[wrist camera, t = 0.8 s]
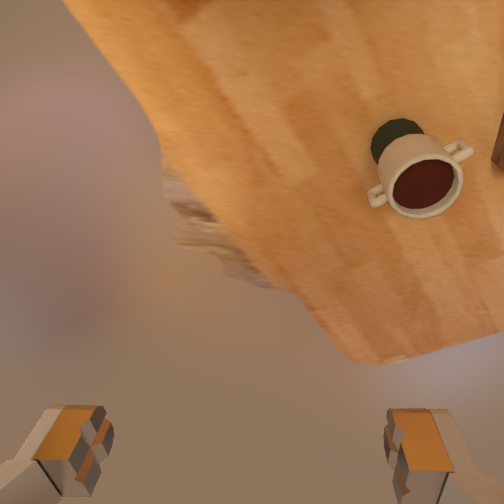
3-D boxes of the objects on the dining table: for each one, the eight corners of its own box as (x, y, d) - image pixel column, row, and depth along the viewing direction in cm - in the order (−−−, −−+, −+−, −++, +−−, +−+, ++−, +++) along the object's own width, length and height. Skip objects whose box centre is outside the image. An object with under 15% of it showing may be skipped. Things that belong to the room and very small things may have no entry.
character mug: (369, 185, 49) (389, 239, 39) (342, 144, 46) (357, 192, 36) (449, 138, 44) (497, 186, 34) (426, 90, 41) (470, 126, 31)
